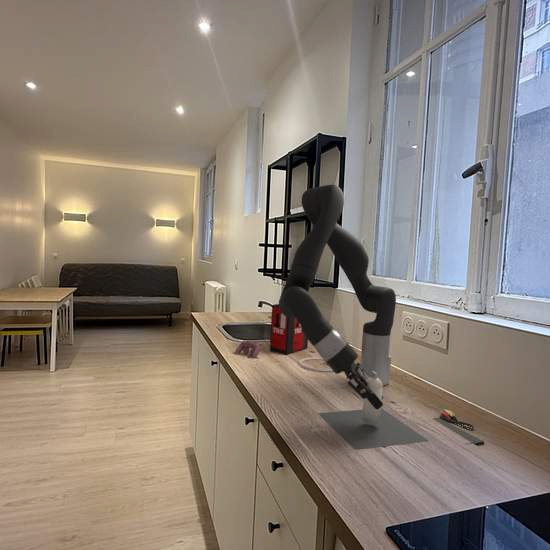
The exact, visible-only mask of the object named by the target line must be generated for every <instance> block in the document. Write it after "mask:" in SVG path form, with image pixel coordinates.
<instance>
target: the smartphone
mask: <svg viewBox="0 0 550 550" xmlns="http://www.w3.org/2000/svg"><path fill="white" fill-rule="evenodd" d="M432 420H433V421H435V422H437V423H439V424H440V425H442V426H444V427H445V428H447V429H449V430H450V431H451V432H454V433H455V434H457V435H458V436H460V437H462V438H463V439H465V440H466V441H468V443H467V442H466V443H464V445H472V444H473V445H474V446H476V445H478V446H480V445H479V444H482V445H485V441H484V440H482V439H480V438H479V437H476V436H474V435H473V434H471V433H469V432H467V431H466V430H463V429H461V428H459V427H457V426H456V425H453V423H450V422H447V421H444V420H442V419H440V417H434V418H433V417H432Z"/></svg>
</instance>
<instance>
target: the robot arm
mask: <svg viewBox="0 0 550 550" xmlns="http://www.w3.org/2000/svg"><path fill="white" fill-rule="evenodd" d="M344 205H345V196H344V192H343V191H342V188H340V187H339V185H337V184H326V185H325V184H324V185H321V186H317V187H312V188H308V189H307V190H305V191H304V192H303V193H302V195H301V206H302V209H303V212H304V214H305V216H306V217H307V218H308V220H309V221H310V222H311V224H312V225H313V227H312V228H311V230H310V232H309V233H308V234H307V235H306V236H305V238H304V239H303V240H302V241H301V243H300V244H299V246H298V248H297V249H296V251H295V253H294V257H293V260H292V263H291V266H290V270H289V273H288V277H287V279H286V282H285V284H284V286H283V288H282V290H281V294H280V295H279V296H280V297H279V300H278V304H279V309H280V311H281V313H282V314H283V315H284V316H286V317H290V318H292V317H295V318H296V319H297V321H298V322H299V323H300V325H301V330H302V332H303V334H304V335H305V337H306V338H307V339H308V342H309V343H310V344H311V345H312V346H313V348H314V349H315V350H316V352H317V353H318V355H319V356H320V358H323V359H324V360H323V361H325V363H326V364H327V365H328V367H329V369H332V370H333V371H334V372H333V373H335V375H338V374H341V373H342V372H343V373H344V374H345V375H346V376H345V377H346V378H345V379H347V383H348V386H350V387H351V388H352V390H353V391H355V392H356V394H358V395H359V397H361V399H363V400H364V399H365V398H367V399H368V401H369V402H370V403H371V404H372V405H373V406H374V408H375V409H379V408H382V407H383V405H384V402H383V401H382V400H383V398H384V397H383V395H382V400H380V399H379V398H378V397H377V396H376V394H375V393H374V392H373V390H372V389H371V388H370V387H369V385H368V384H369V382H368V381H367V379H368V378H369V377H371V373H372V371H374V372H376V373H377V378H379V379H380V380H381V382H382V387H384V385H385V386H386V385H389V384H390V378H391V377H390V376H391V365H392V364H391V363H392V356H390V344H391V342H390V341H391V331H392V328H393V326H394V320H395V311H396V306H397V305H396V304H397V296H396V293H395V291H394V289H392V288H390V287H387V286H381V285H380V286H379V285H374V284H373V283H372V282H371V280H370V278H369V277H368V275H367V272H368V269H369V261H370V260H369V256H368V255H369V254H368V253H367V252H366V249H365V247H364V246H363V244H362V242H361V241H360V239H359V238H358V237H356V236H355V234H353V233H351V231H349V230H347V229H346V228H345V227H343V226H341V225H340V224H338V221H339V219H340V216H341V215H342V212H343V210H344V209H343V208H344ZM326 245H327V246H328V247H329V249H330V250H331V253H332V255H333V256H334V258H335V260H336V261H337V263H338V265H339V266H340V268H341V269H342V270H343V273H344V274H345V276H346V277H347V279H348V282H349V283H350V285H351V286H352V288H353V291H354V292H355V296H356V297H357V300H358V301H359V304H360V306H361V307H362V309H363V310H365V311H366V312H370V313H373V314H376V315H375V319H374V320H373V321H368V322H364V323H363V326H362V336H361V337H362V339H361V350H360V351H361V352H360V363H359V362H357V363H356V362H355V361H356V360H357V358H358V356H359V355H358V353H357V352H356V351H355V349H354V348H353V347H352V346H351V345H350V344H349V342H348V341H347V340H346V339H345V338H344V336H342V334H341V333H339V332H338V331H337V330H336V329H335V328H334V327H333V326H332V324H331V323H330V322H329V321H328V320H327V319H326V318H325V317H324V315H323V313H322V312H321V310H320V308H319V306H318V305H317V303H316V302H315V300H314V299H313V297H312V295H310V293H309V291H310V290H309V289H310V287H311V285H313V282H314V280H315V278H316V275H317V271H318V270H319V266H320V260H321V259H322V256H323V253H324V251H325V247H326ZM364 389H365V390H366V391H365V392H364Z"/></svg>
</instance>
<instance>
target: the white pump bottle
mask: <svg viewBox="0 0 550 550" xmlns="http://www.w3.org/2000/svg"><path fill="white" fill-rule="evenodd" d="M367 381H368V382H369V384H368V385H369V387H370V388H371V389H372V390H373V392H374V393H375V394H376V396H377V397H378V398H379V399H380V400H381V401H382V400H383V399H382V396H383V386H382V382H381V380H380V379H379V378H377V373H376V372H374V371H372V373H371V377H369V378H368V379H367ZM363 391H364V392H365V391H366V390H365V389H363ZM381 408H382V407H381ZM381 408H379V409H375V408H374V406H373V405H372V404H371V403H370V402H369V401H368V399H367V398H365V399H363V403H362V410H363V413H362V420H363V421H364V422H366V423H369V424H378V423H379V422H380V412H381Z"/></svg>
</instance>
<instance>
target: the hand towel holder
mask: <svg viewBox="0 0 550 550" xmlns="http://www.w3.org/2000/svg"><path fill="white" fill-rule="evenodd" d="M312 360H313V361H314V360H315V361H324V359H323V358H322V357H321V356H320V357H318V356H316V357H315V356H311V357H304V358H301V359H300V360H299V361H298V365H299V366H300V367H301V368H303V369H306V370H309V371H313V372H321V373H332V372H333V373H335V372H334V371H333V370H332V369H331V368H315V367H311V366H307V365H305V364H303V363H302V362H305V361H312Z"/></svg>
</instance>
